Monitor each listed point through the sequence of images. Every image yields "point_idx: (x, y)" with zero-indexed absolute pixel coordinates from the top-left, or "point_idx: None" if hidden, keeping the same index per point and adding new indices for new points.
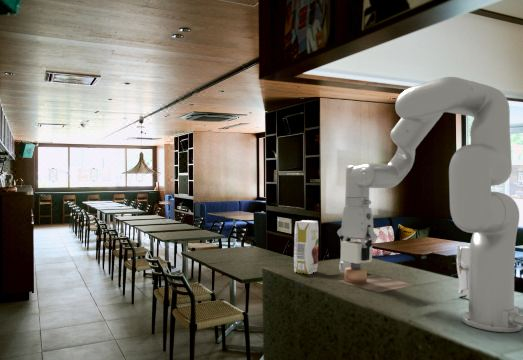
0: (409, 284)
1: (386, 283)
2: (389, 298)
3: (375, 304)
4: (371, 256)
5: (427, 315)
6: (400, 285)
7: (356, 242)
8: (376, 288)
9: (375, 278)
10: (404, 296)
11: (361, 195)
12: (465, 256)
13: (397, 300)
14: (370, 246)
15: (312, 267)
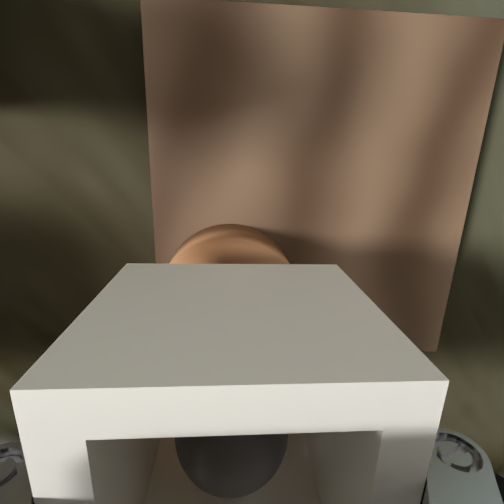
0: (474, 48)
1: (365, 162)
2: (461, 314)
3: (462, 419)
4: (353, 288)
5: None
6: (446, 131)
7: (116, 419)
8: (392, 308)
9: (235, 94)
10: (495, 228)
11: None
12: None
13: (499, 311)
14: (476, 467)
15: None
